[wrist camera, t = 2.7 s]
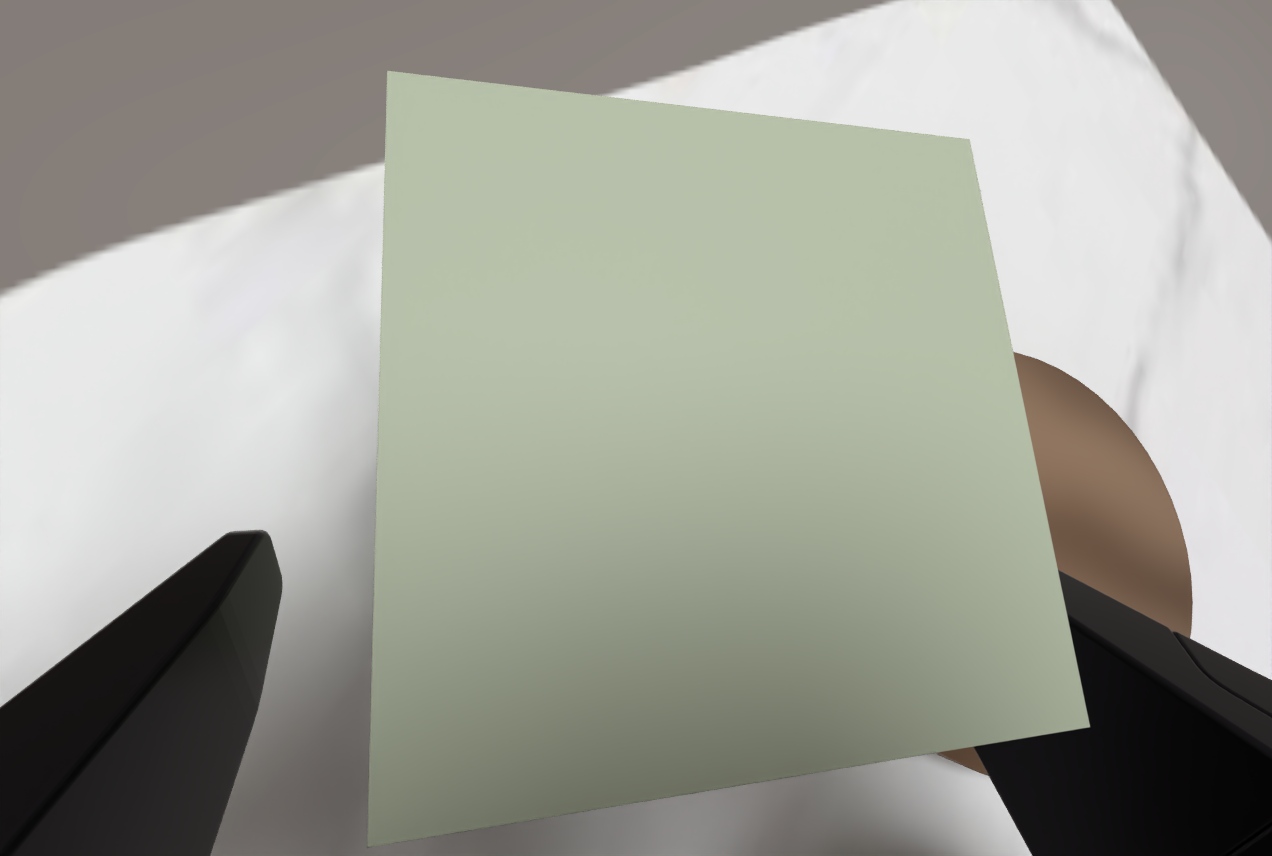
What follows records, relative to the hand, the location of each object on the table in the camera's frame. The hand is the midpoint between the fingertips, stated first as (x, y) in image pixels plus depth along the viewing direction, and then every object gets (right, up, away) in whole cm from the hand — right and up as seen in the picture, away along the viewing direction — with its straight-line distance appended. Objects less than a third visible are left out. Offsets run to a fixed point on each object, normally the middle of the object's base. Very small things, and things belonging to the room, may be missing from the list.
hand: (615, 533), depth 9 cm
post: (-2, -1, +8) cm, 8 cm away
